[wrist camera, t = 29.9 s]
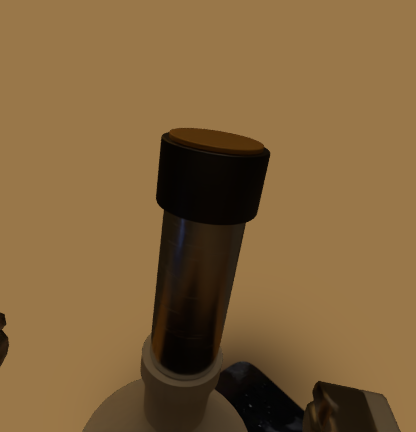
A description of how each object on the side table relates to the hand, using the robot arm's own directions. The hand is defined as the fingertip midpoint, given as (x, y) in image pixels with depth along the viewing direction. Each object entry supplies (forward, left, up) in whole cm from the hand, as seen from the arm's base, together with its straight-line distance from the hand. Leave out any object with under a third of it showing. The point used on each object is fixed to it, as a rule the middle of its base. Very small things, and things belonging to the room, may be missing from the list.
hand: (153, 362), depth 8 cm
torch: (+4, +6, -7) cm, 11 cm away
